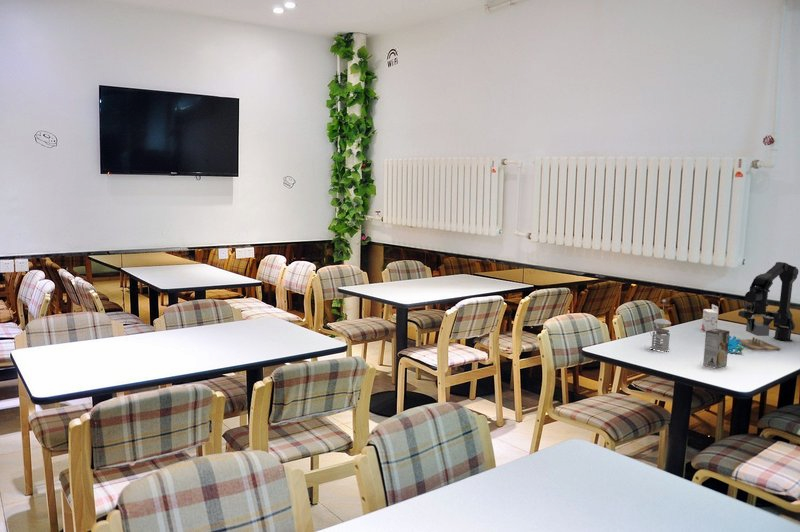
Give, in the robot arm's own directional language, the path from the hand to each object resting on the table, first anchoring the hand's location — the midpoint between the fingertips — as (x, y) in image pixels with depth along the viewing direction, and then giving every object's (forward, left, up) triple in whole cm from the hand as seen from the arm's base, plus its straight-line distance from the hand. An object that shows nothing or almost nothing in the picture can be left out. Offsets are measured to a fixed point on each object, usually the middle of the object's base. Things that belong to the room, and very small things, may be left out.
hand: (757, 331), depth 333 cm
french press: (+55, +10, -8) cm, 57 cm away
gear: (+21, +14, -8) cm, 26 cm away
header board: (0, 0, -8) cm, 8 cm away
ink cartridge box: (+9, -30, -8) cm, 32 cm away
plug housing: (0, 0, -1) cm, 1 cm away
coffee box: (+41, +37, -8) cm, 56 cm away
